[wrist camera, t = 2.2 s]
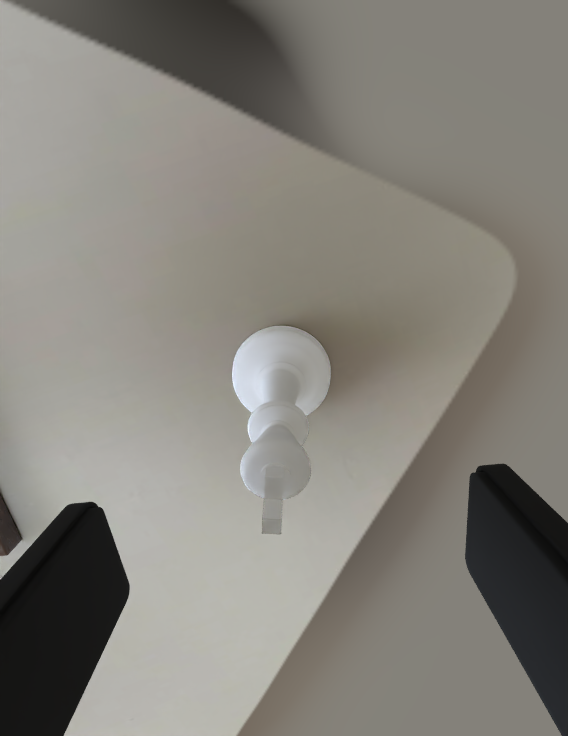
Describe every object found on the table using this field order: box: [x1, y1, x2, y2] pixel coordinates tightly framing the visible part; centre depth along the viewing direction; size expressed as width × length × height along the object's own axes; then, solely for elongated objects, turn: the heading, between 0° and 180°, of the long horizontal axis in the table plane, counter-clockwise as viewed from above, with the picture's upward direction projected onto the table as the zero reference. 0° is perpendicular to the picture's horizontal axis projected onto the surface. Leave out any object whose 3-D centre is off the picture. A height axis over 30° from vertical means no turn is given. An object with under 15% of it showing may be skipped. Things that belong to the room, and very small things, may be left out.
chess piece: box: [232, 326, 331, 534], centre depth 12 cm, size 5×5×10 cm
